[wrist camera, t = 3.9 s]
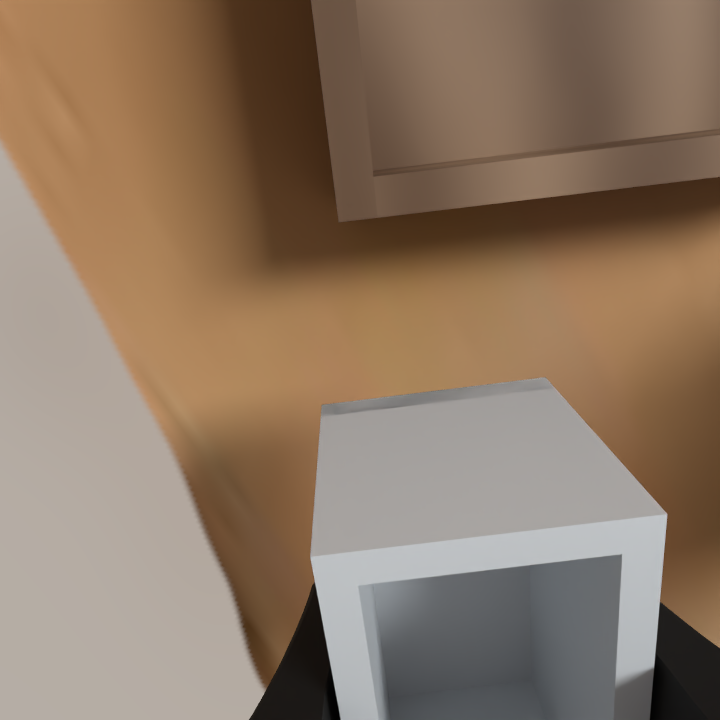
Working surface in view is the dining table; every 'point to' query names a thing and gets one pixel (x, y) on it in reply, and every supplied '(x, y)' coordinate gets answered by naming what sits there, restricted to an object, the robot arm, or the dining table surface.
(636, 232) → the dining table surface
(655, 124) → the walnut crate
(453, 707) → the box
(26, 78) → the dining table surface
